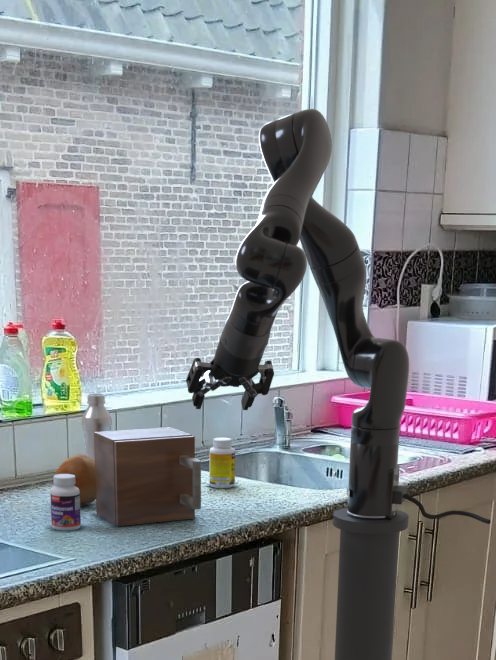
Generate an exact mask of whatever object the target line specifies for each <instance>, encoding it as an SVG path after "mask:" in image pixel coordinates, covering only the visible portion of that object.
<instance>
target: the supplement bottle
mask: <svg viewBox="0 0 496 660" xmlns="http://www.w3.org/2000/svg"><path fill="white" fill-rule="evenodd" d="M232 442H233V439H232V438H230V437H215V438H214V437H213V441H212V447H211V448H210V449H209V471H208V472H209V485H210V487H212V488H215V489H228V488H229V489H230V488H233V487H234V486H235V484H236V449H235V448H234V447H232V446H233V443H232Z"/></svg>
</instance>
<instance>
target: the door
mask: <svg viewBox="0 0 496 660" xmlns="http://www.w3.org/2000/svg"><path fill="white" fill-rule="evenodd" d="M114 460H115V497H116V525H117V527H123V526H135V525H142V524H143V525H145V524H153V523H162V522H173V521H183V520H192V519H193V520H194V519H195V518H196V511H197V510H201V509H202V460H200V459H198V458H196V436H194V435H192V436H182V437H168V438H153V439H139V440H124V441H114Z"/></svg>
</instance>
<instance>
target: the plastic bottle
mask: <svg viewBox="0 0 496 660" xmlns="http://www.w3.org/2000/svg"><path fill="white" fill-rule="evenodd" d="M86 399H87V401H86V404H87V405H88V406H87V408H86V409H85V411H84V413H83V415H82V417H81V426H82V433H83V439H84V451H85V454H84V455H85V456H87V457H89V458H91V459H92V460H94V461H95V451H94V432H103V431H112V427H113V419H112V415H111V414H110V413H109V411H108V409H107V407H105V405H106V397H105V394H104V393H100V392H99V393H96V392H95V393H93V392H92V393H87V397H86Z"/></svg>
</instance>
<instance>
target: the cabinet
mask: <svg viewBox="0 0 496 660" xmlns="http://www.w3.org/2000/svg"><path fill="white" fill-rule="evenodd" d="M182 436H193V434H191V433H189V432H186V431H183V430H179V429H177V428H175V427H171V426H167V427H166V426H165V427H151V428H149V427H148V428H135V429H120V430H119V429H118V430H111V431H103V432H94V451H95V481H96V500H95V510H96V516H97V517H100V518H102V519H103V520H105V521H107V522H109V523H110V524H111V525H114V526H117V525H116V497H115V460H114V441H124V440H139V439H153V438H168V437H182ZM117 527H118V526H117Z"/></svg>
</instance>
